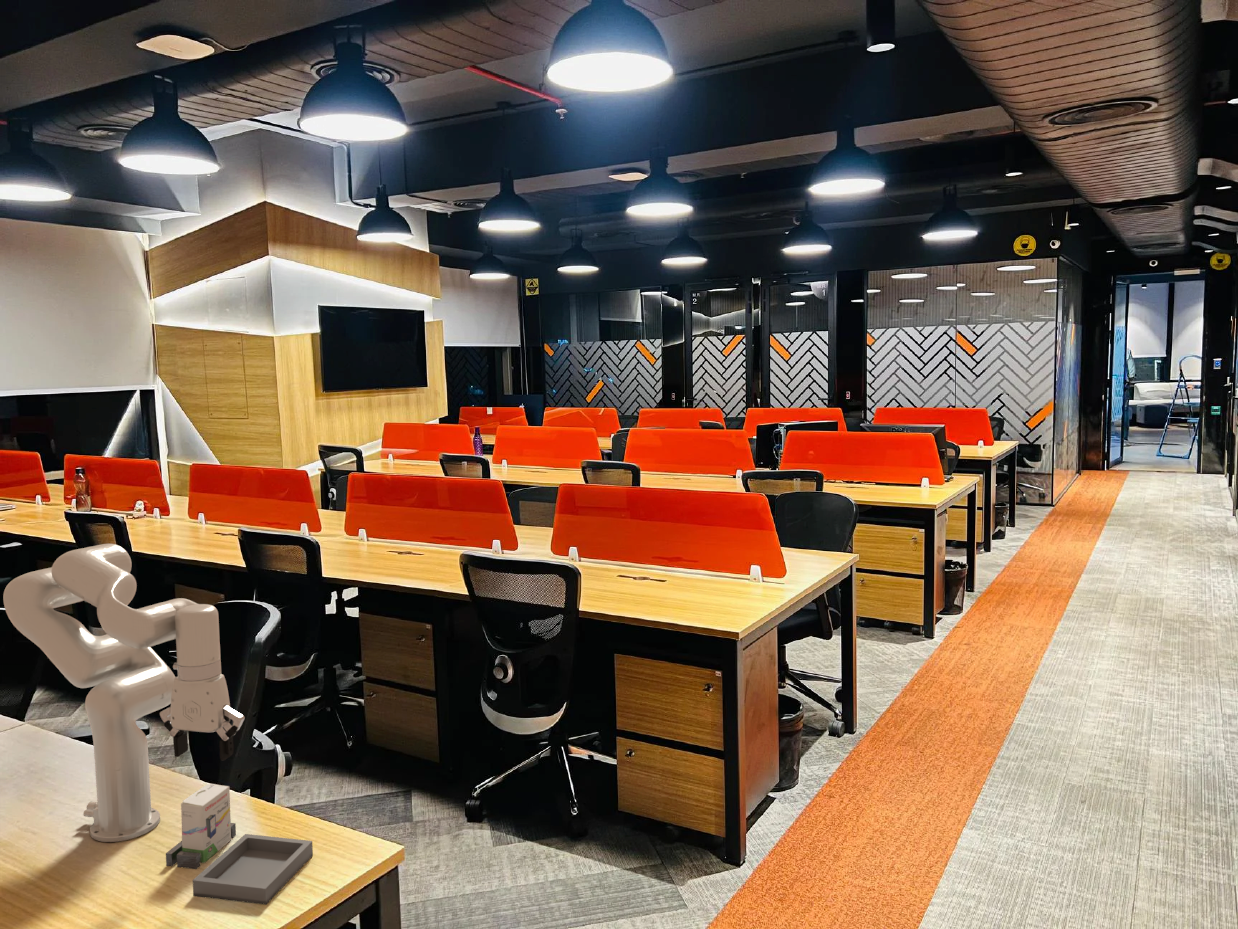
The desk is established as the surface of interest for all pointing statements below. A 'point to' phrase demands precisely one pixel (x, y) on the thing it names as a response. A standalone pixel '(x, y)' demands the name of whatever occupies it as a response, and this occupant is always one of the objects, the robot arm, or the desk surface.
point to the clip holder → (187, 855)
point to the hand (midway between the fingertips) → (204, 755)
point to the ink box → (206, 821)
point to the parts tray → (253, 869)
